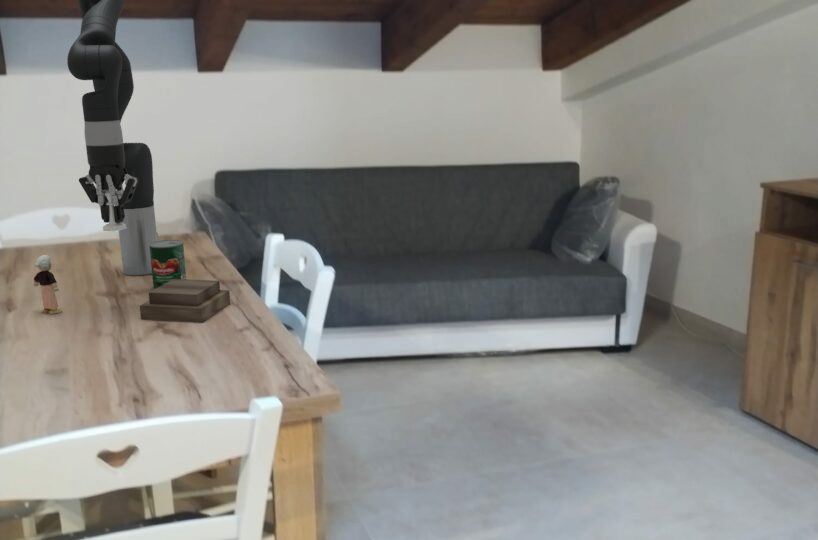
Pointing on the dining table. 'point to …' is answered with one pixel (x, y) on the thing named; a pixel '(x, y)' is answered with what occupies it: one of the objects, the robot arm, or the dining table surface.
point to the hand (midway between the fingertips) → (113, 221)
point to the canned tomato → (167, 261)
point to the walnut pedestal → (185, 301)
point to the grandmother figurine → (47, 285)
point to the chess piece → (112, 217)
